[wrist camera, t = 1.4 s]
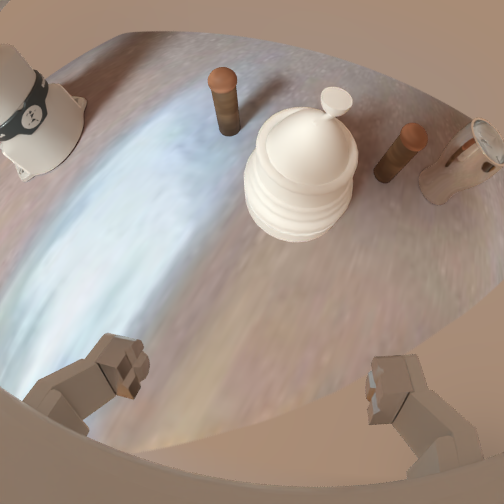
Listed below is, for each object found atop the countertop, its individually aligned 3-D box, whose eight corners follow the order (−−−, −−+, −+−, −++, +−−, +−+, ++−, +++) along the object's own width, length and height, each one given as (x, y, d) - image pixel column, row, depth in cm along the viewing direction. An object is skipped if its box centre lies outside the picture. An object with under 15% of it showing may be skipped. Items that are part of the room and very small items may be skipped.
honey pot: (296, 136, 39) (316, 40, 21) (360, 201, 37) (424, 129, 19) (225, 188, 38) (201, 100, 20) (290, 263, 36) (321, 220, 18)
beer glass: (421, 158, 38) (471, 106, 24) (453, 182, 38) (509, 139, 23) (410, 192, 37) (468, 142, 22) (445, 216, 36) (509, 179, 22)
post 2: (368, 175, 38) (403, 129, 26) (377, 159, 38) (411, 112, 26) (388, 188, 37) (428, 148, 26) (396, 172, 38) (435, 129, 26)
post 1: (213, 131, 39) (199, 74, 28) (227, 115, 40) (218, 58, 28) (232, 141, 39) (223, 84, 27) (246, 125, 40) (242, 67, 28)
